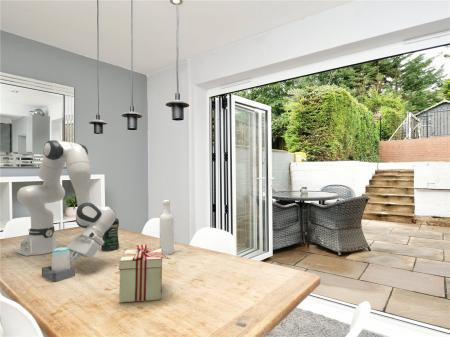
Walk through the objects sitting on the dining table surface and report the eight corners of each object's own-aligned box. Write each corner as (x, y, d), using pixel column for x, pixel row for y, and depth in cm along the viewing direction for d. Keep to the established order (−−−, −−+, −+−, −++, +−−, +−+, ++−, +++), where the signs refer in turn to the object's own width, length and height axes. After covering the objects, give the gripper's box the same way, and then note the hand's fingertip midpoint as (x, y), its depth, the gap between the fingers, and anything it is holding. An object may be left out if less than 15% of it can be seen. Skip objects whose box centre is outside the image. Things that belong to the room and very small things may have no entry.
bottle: (170, 255, 154) (170, 201, 154) (157, 254, 155) (157, 200, 156) (175, 251, 162) (175, 199, 162) (163, 250, 163) (163, 199, 163)
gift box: (172, 298, 102) (172, 251, 102) (118, 305, 97) (118, 255, 97) (168, 280, 118) (168, 240, 119) (121, 286, 113) (121, 243, 113)
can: (67, 277, 123) (67, 250, 123) (49, 279, 121) (49, 251, 121) (71, 272, 129) (71, 246, 130) (55, 273, 128) (54, 247, 128)
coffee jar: (104, 252, 161) (104, 220, 161) (99, 249, 166) (99, 218, 167) (121, 249, 167) (120, 218, 168) (115, 246, 173) (115, 216, 173)
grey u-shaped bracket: (63, 270, 132) (63, 262, 132) (75, 275, 125) (75, 268, 125) (41, 275, 125) (41, 267, 125) (53, 282, 117) (53, 274, 117)
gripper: (76, 230, 141) (55, 254, 133) (97, 235, 129) (75, 262, 121) (85, 237, 145) (65, 261, 137) (106, 243, 132) (85, 269, 124)
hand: (70, 262), depth 129 cm, fingers closed, pressing on can
